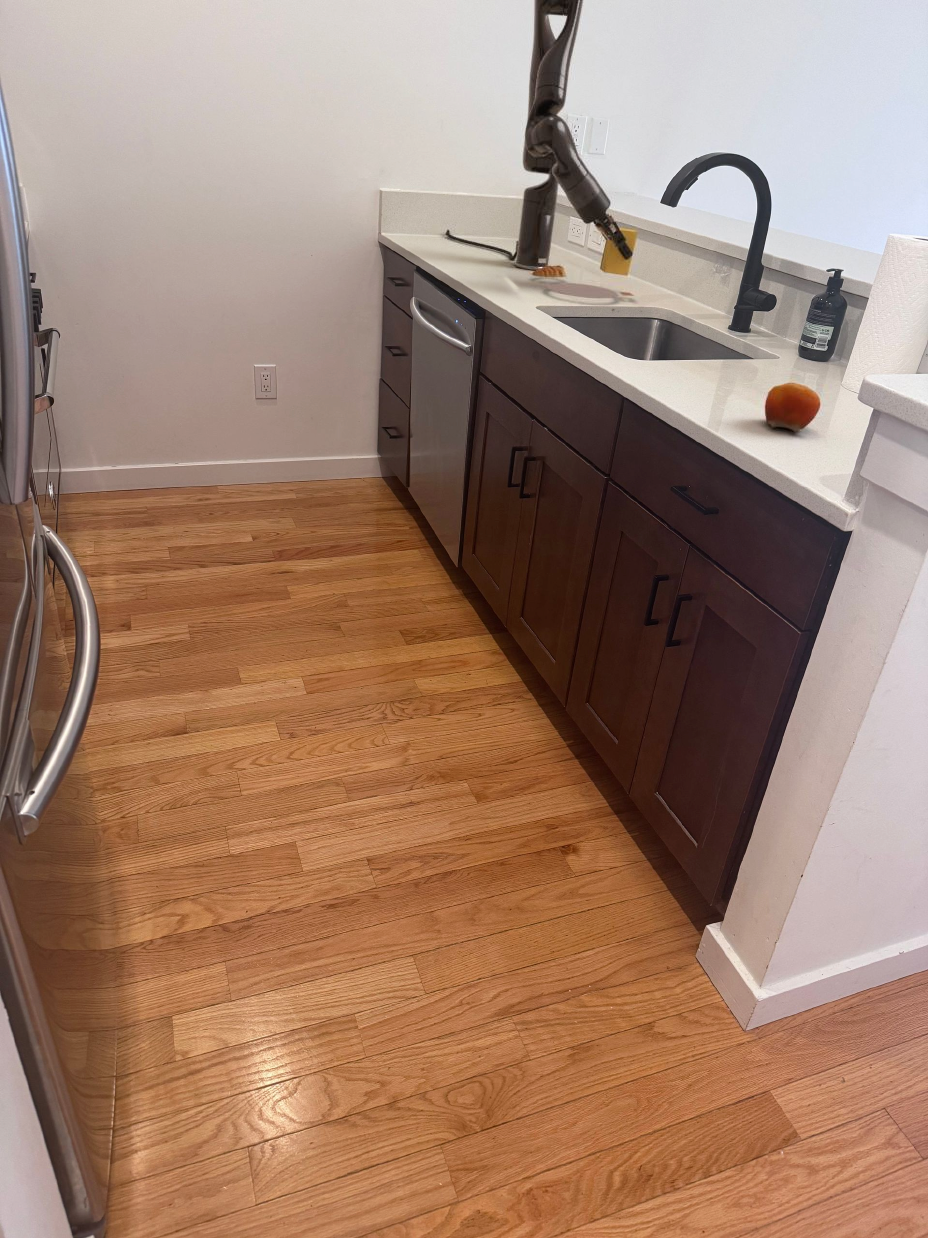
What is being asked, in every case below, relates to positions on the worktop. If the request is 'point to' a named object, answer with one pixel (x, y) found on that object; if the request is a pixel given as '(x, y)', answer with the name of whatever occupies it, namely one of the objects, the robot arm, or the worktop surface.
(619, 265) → the sponge
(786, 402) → the fruit
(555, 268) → the pastry
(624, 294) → the orange slab
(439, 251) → the worktop surface
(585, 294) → the plate
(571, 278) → the worktop surface
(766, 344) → the worktop surface
